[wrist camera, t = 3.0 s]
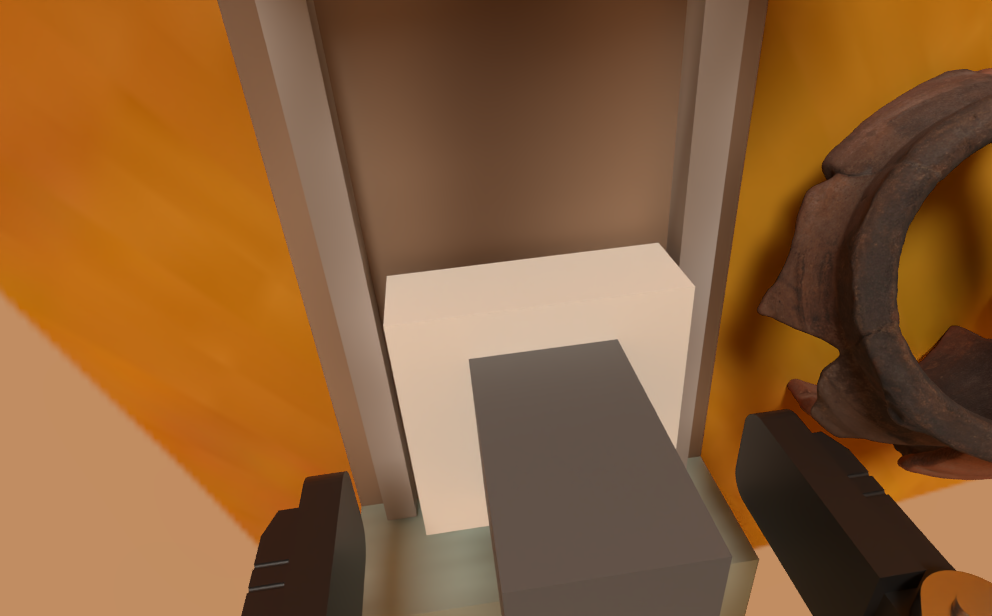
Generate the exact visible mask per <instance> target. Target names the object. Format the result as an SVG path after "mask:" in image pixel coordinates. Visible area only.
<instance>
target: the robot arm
mask: <svg viewBox="0 0 992 616" xmlns="http://www.w3.org/2000/svg"><path fill="white" fill-rule="evenodd" d="M735 474H736V482H737V487H738V490H739V493H740V495H741V498H742V500H743V501H744V503H745V505H746V507H747V508H748V510H749V511H750V513H751V515H752V516H753V518H754V520H755V521H756V523H757V525H758V526H759V528H760V530H761V531H762V533H763V534H764V536H765V538H766V539H767V541H768V543H769V544H770V546H771V548H772V549H773V551H774V552H775V554H776V556H777V557H778V559H779V561H780V562H781V564H782V566H783V567H784V569H785V571H786V572H787V574H788V576H789V577H790V579H791V580H792V582H793V584H794V585H795V587H796V589H797V590H798V592H799V594H800V595H801V597H802V599H803V600H804V602H805V603H806V605H807V607H808V608H809V610H810V612H811V613H812V615H813V616H992V583H991V582H989V581H987V580H984V579H982V578H980V577H978V576H975V575H972V574H969V573H965V572H960V571H956V570H955V569H954V568H953V567H952V566H951V565H950V564H949V563H948V561H947V560H946V559H945V558H944V557H943V556H942V555H941V554H940V552H939V551H938V550H937V549H936V548H935V547H934V546H933V544H932V543H930V541H929V540H928V539H927V538H926V536H925V535H924V534H923V533H922V532H921V531H920V530H919V529H918V528H917V527H916V525H915V524H914V523H913V522H912V521H911V520H910V518H909V517H908V516H907V515H906V514H905V513H904V512H903V510H902V509H901V508H900V507H899V506H898V505H897V504H896V502H895V501H894V500H893V499H892V498H891V497H890V496H889V494H888V495H886V494H885V492H884V489H883V488H882V487H881V485H880V484H879V483H878V482H877V481H876V480H875V479H874V477H873V476H869V474H868V471H867V470H866V468H865V467H864V466H863V465H862V464H861V463H860V462H859V460H858V459H857V458H856V457H855V456H854V455H853V454H852V453H851V451H850V450H849V449H847V448H846V447H844V446H843V445H841V444H840V443H838V442H837V441H835V440H834V439H832V438H831V437H829V436H827V435H826V434H824V433H823V432H817V433H811V431H810V430H809V429H808V428H807V427H806V425H805V424H804V423H803V422H802V421H801V420H800V418H799V417H798V416H797V415H796V414H795V413H794V412H793V411H791V410H789V409H784V410H777V411H770V412H763V413H756V414H750V415H748V416H747V418H746V420H745V424H744V429H743V434H742V439H741V444H740V449H739V454H738V459H737V464H736V472H735ZM365 564H366V541H365V531H364V526H363V521H362V518H361V514H360V511H359V507H358V504H357V500H356V497H355V493H354V490H353V486H352V483H351V479H350V476H349V474H348V472H347V471H345V472H338V473H331V474H325V475H318V476H311V477H307V478H306V479H305V481H304V484H303V489H302V494H301V499H300V504H299V508H294V509H287V510H280V511H278V512H277V514H276V515H275V517H274V518H273V520H272V521H271V523H270V524H269V525H268V527H267V528H266V530H265V531H264V533H263V534H262V536H261V539H260V543H259V547H258V551H257V555H256V559H255V563H254V566H255V568H254V570H253V571H252V575H251V579H250V583H249V587H248V588H249V593H247V596H246V599H245V603H244V607H243V611H242V615H241V616H362V609H363V594H364V579H365Z"/></svg>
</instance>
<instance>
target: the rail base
mask: <svg viewBox="0 0 992 616" xmlns="http://www.w3.org/2000/svg"><path fill="white" fill-rule="evenodd" d="M217 1H218V4H219V8H220V11H221V15H222V18H223V22H224V25H225V29H226V32H227V36H228V39H229V43H230V46H231V50H232V53H233V57H234V60H235V64H236V67H237V71H238V74H239V78H240V81H241V85H242V88H243V92H244V95H245V99H246V102H247V106H248V109H249V113H250V116H251V120H252V123H253V127H254V130H255V134H256V137H257V141H258V144H259V148H260V151H261V155H262V158H263V162H264V165H265V169H266V172H267V176H268V179H269V183H270V187H271V190H272V194H273V197H274V201H275V204H276V208H277V211H278V215H279V218H280V222H281V225H282V229H283V232H284V236H285V239H286V243H287V246H288V250H289V253H290V257H291V260H292V264H293V267H294V271H295V274H296V278H297V281H298V285H299V288H300V292H301V295H302V299H303V302H304V306H305V309H306V313H307V316H308V320H309V323H310V327H311V330H312V334H313V337H314V341H315V344H316V348H317V351H318V355H319V358H320V362H321V365H322V369H323V372H324V376H325V379H326V383H327V386H328V390H329V393H330V397H331V400H332V404H333V408H334V411H335V415H336V418H337V422H338V425H339V429H340V432H341V436H342V439H343V443H344V446H345V450H346V453H347V457H348V460H349V464H350V467H351V471H352V474H353V478H354V481H355V485H356V488H357V492H358V495H359V499H360V502H361V506H362V509H361V518H362V521H363V526H364V531H365V541H366V564H365V579H364V594H363V609H362V616H502V615H501V607H500V600H499V593H498V586H497V578H496V571H495V564H494V557H493V549H492V542H491V535H490V527H489V526H484V527H478V528H471V529H465V530H458V531H452V532H445V533H439V534H432V535H426V530H425V525H424V520H423V515H422V510H421V506H420V501H419V496H418V491H417V486H416V482H415V477H414V472H413V467H412V462H411V458H410V453H409V448H408V443H407V438H406V433H405V429H404V424H403V419H402V414H401V409H400V405H399V400H398V395H397V390H396V385H395V381H394V376H393V371H392V366H391V361H390V357H389V352H388V347H387V342H386V337H385V332H384V328H383V324H384V309H385V295H386V280H387V276H392V275H400V274H408V273H416V272H424V271H432V270H441V269H449V268H457V267H465V266H473V265H481V264H489V263H497V262H506V261H514V260H522V259H530V258H538V257H546V256H554V255H562V254H571V253H579V252H587V251H595V250H603V249H611V248H619V247H627V246H636V245H644V244H652V243H659V244H660V245H661V246H662V247H663V249H664V250H665V251H666V252H667V253H668V255H669V256H670V257H671V258H672V259H673V261H674V262H675V263H676V264H677V265H678V266H679V268H680V269H681V270H682V271H683V272H684V274H685V275H686V276H687V277H688V278H689V280H690V281H691V282H692V283H693V284H694V286H695V293H694V301H693V310H692V318H691V327H690V335H689V344H688V352H687V361H686V369H685V378H684V386H683V395H682V403H681V412H680V420H679V429H678V437H677V446H676V451H677V453H678V455H679V456H680V458H681V460H682V462H683V464H684V466H685V468H686V470H687V472H688V473H689V475H690V477H691V479H692V481H693V483H694V485H695V487H696V489H697V490H698V492H699V494H700V496H701V498H702V500H703V502H704V504H705V506H706V508H707V509H708V511H709V513H710V515H711V517H712V519H713V521H714V523H715V525H716V526H717V528H718V530H719V532H720V534H721V536H722V538H723V540H724V542H725V543H726V545H727V547H728V549H729V551H730V553H731V555H732V560H731V565H730V570H729V574H728V579H727V584H726V588H725V593H724V598H723V602H722V607H721V612H720V616H745V613H746V609H747V605H748V601H749V597H750V593H751V589H752V585H753V581H754V577H755V573H756V569H757V565H758V561H759V558H758V557H757V555H756V553H755V551H754V550H753V548H752V546H751V544H750V543H749V541H748V539H747V537H746V536H745V534H744V532H743V530H742V528H741V527H740V525H739V523H738V521H737V520H736V518H735V516H734V514H733V513H732V511H731V509H730V507H729V506H728V504H727V502H726V500H725V499H724V497H723V495H722V493H721V492H720V490H719V488H718V486H717V485H716V483H715V481H714V479H713V478H712V476H711V474H710V472H709V471H708V469H707V467H706V465H705V464H704V462H703V460H702V458H701V449H702V442H703V436H704V429H705V422H706V415H707V409H708V402H709V395H710V389H711V382H712V375H713V368H714V362H715V355H716V348H717V342H718V335H719V328H720V321H721V315H722V308H723V301H724V295H725V288H726V281H727V274H728V268H729V261H730V254H731V248H732V241H733V234H734V227H735V221H736V214H737V207H738V201H739V194H740V187H741V180H742V174H743V167H744V160H745V154H746V147H747V140H748V133H749V127H750V120H751V113H752V107H753V100H754V93H755V86H756V80H757V73H758V66H759V60H760V53H761V46H762V39H763V33H764V26H765V19H766V13H767V6H768V0H217Z"/></svg>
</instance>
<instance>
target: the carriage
mask: <svg viewBox="0 0 992 616" xmlns="http://www.w3.org/2000/svg"><path fill="white" fill-rule="evenodd" d="M694 293H695V286H694V284H693V283H692V282H691V281H690V280H689V278H688V277H687V276H686V275H685V274H684V272H683V271H682V270H681V269H680V268H679V266H678V265H677V264H676V263H675V262H674V261H673V259H672V258H671V257H670V256H669V255H668V253H667V252H666V251H665V250H664V249H663V247H662V246H661V245H660V244H659V243H652V244H644V245H636V246H627V247H619V248H611V249H603V250H595V251H587V252H579V253H571V254H562V255H554V256H546V257H538V258H530V259H522V260H514V261H506V262H497V263H489V264H481V265H473V266H465V267H457V268H449V269H441V270H432V271H424V272H416V273H408V274H400V275H392V276H387V280H386V295H385V309H384V324H383V328H384V332H385V337H386V342H387V347H388V352H389V357H390V361H391V366H392V371H393V376H394V381H395V385H396V390H397V395H398V400H399V405H400V409H401V414H402V419H403V424H404V429H405V433H406V438H407V443H408V448H409V453H410V458H411V462H412V467H413V472H414V477H415V482H416V486H417V491H418V496H419V501H420V506H421V510H422V515H423V520H424V525H425V530H426V535H432V534H439V533H445V532H452V531H458V530H465V529H471V528H478V527H484V526H489V527H490V535H491V542H492V549H493V557H494V564H495V571H496V578H497V586H498V593H499V600H500V607H501V615H502V616H720V612H721V607H722V602H723V598H724V593H725V588H726V584H727V579H728V574H729V570H730V565H731V560H732V555H731V553H730V551H729V549H728V547H727V545H726V543H725V542H724V540H723V538H722V536H721V534H720V532H719V530H718V528H717V526H716V525H715V523H714V521H713V519H712V517H711V515H710V513H709V511H708V509H707V508H706V506H705V504H704V502H703V500H702V498H701V496H700V494H699V492H698V490H697V489H696V487H695V485H694V483H693V481H692V479H691V477H690V475H689V473H688V472H687V470H686V468H685V466H684V464H683V462H682V460H681V458H680V456H679V455H678V453H677V451H676V446H677V437H678V429H679V420H680V412H681V403H682V395H683V386H684V378H685V369H686V361H687V352H688V344H689V335H690V327H691V318H692V310H693V301H694Z"/></svg>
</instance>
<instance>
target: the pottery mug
mask: <svg viewBox="0 0 992 616" xmlns="http://www.w3.org/2000/svg"><path fill="white" fill-rule="evenodd" d="M990 143H992V68H989V69H983V70H980V71H971V70H968V69H960V70H953V71H947V72H944V73H943V74H941V75H939V76H937V77H935V78H932V79H930V80H928V81H926V82H924V83H922V84H919V85H918V86H916V87H914V88H913V89H911V90H909V91H908V92H906V93H904V94H902V95H901V96H899V97H897V98H896V99H895V100H893V101H892V102H890V103H888V104H886V105H885V106H883V107H882V108H881V109H879V110H878V111H876V112H875V113H874V114H873V115H871V116H870V117H869V118H867V119H866V120H865V121H863V122H862V123H861V124H860V125H859V126H858V127H857V128H856V129H854V131H853V132H852V133H851V134H850V135H849V136H847V137H846V138H845V139H844V140H843V141H842V142H841V143H840V144H839V145H837V146H836V147H835V148H834V149H833V150H832V151H831V152H830V153H829V154H828V155H827V156H826V158H825V160H824V161H823V163H822V171H823V173H824V175H825V177H826V179H827V181H824V182H822V183H820V184H817V185H815V186H813V187H812V188H810V189H809V190H808V191H807V192H806V194H805V196H804V198H803V201H802V204H801V207H800V210H799V212H798V215H797V219H796V225H795V233H794V237H793V239H792V244H791V248H790V252H789V255H788V257H787V260H786V262H785V265H784V267H783V269H782V271H781V273H780V274H779V276H778V278H777V281H776V282H775V284H774V285H773V286H772V287H771V288H769V289H768V291H767V292H766V294H765V295H764V297H763V298H762V301H761V303H760V304H759V306H758V308H757V311H758V313H759V314H761V315H764V316H768V317H772V318H774V319H776V320H778V321H780V322H782V323H784V324H786V325H788V326H790V327H792V328H794V329H797V330H800V331H802V332H805V333H808V334H810V335H813V336H815V337H818V338H820V339H822V340H824V341H826V342H828V343H829V344H831V345H832V346H834V347H835V348H837V349H838V350H839V352H840V356H839V357H838V358H837V359H836V360H835V361H833V362H832V363H830V364H829V365H828V366H826V367H825V368H824V369H823V370H822V372H821V374H820V378H819V380H818V383H817V385H814V384H810V383H807V382H804V381H801V380H798V379H793V380H791V381H790V382H789V383H788V385H787V387H788V389H789V390H790V391H791V392H792V394H793V396H794V397H795V399H796V400H797V401H798V403H799V404H800V407H801V408H802V409H803V410H804V411H805V412H806V413H807V414H809V415H811V416H812V418H814V419H815V420H816V421H817V422H818V423H819V424H820V425H821V426H822V427H823V428H825V429H826V430H827V431H828V432H830V433H831V434H833V435H834V436H836V437H840V438H862V439H868V440H871V441H876V442H882V443H889V444H893V445H894V448H895V449H896V450H897V451H899V452H900V453H901V454H902V457H901V458H899V460H898V465H899V466H901V467H902V468H903V469H905V470H907V471H910V472H914V473H919V474H924V475H928V476H933V477H938V478H947V479H962V480H982V479H992V339H985V338H983V337H981V336H979V335H977V334H975V333H973V332H971V331H969V330H967V329H965V328H962V327H960V326H951V327H950V328H949V329H948V330H947V331H946V333H945V334H944V336H943V337H942V338H941V340H940V341H939V343H938V345H937V346H936V347H935V348H934V349H933V350H932V351H931V352H929V354H928V355H927V356H926V357H925V358H924V359H923V360H922V361H921V362H919V363H918V362H917V360H916V359H915V357H914V356H913V354H912V352H911V350H910V348H909V346H908V344H907V342H906V340H905V339H904V337H903V336H902V334H901V330H900V327H899V313H898V309H897V292H898V288H897V282H898V267H899V260H900V255H901V251H902V246H903V244H904V241H905V236H906V233H907V230H908V227H909V225H910V223H911V222H912V220H913V219H914V217H915V215H916V213H917V212H918V210H919V209H920V207H921V205H922V203H923V202H924V200H925V199H926V197H927V196H928V195H929V194H930V192H931V191H932V190H933V189H934V187H935V186H936V184H937V183H938V182H939V181H941V180H943V179H944V178H945V177H946V176H947V175H948V174H949V173H950V172H951V171H952V170H953V169H954V168H955V167H957V166H958V165H959V164H960V163H961V162H962V161H963V160H964V159H966V158H967V157H969V156H970V155H971V154H973V153H975V152H976V151H978V150H979V149H981V148H983V147H984V146H986V145H987V144H990Z"/></svg>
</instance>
